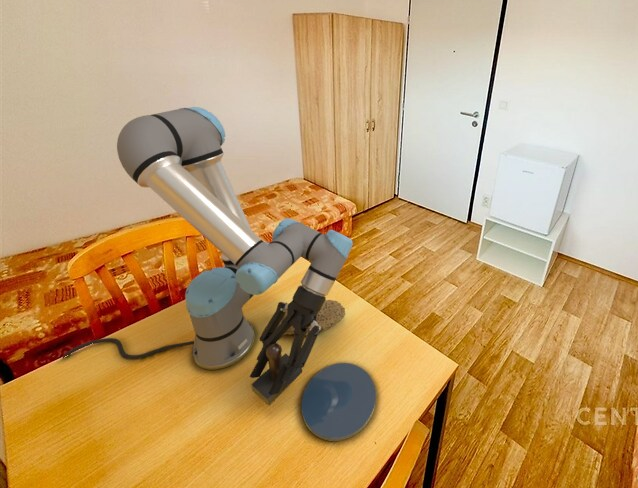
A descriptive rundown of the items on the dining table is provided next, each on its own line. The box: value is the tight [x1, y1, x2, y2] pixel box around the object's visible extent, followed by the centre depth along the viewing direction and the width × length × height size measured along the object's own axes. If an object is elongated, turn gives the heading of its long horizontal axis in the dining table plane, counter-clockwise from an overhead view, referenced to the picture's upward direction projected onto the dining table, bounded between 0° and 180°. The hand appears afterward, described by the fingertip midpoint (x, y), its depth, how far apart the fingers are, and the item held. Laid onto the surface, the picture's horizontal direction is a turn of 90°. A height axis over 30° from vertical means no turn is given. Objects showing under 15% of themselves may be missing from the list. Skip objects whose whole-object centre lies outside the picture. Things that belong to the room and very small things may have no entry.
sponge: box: [276, 299, 346, 337], centre depth 97 cm, size 13×8×20 cm
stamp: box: [250, 342, 303, 407], centre depth 75 cm, size 10×6×13 cm, turn 148°
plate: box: [301, 362, 377, 442], centre depth 79 cm, size 18×18×1 cm
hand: (264, 384), depth 73 cm, fingers closed on stamp, 6 cm apart
